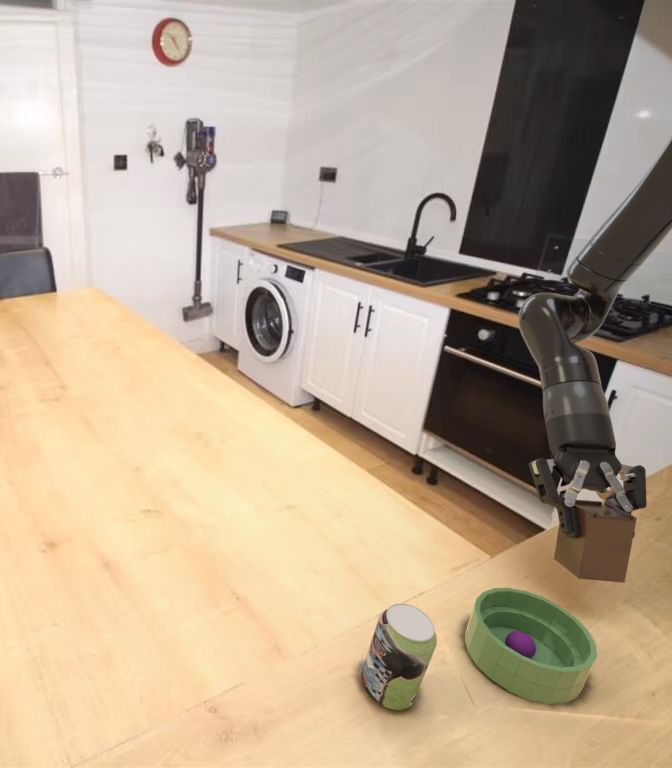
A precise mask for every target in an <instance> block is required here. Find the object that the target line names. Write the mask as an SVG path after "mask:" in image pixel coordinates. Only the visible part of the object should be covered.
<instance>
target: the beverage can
mask: <svg viewBox="0 0 672 768" xmlns="http://www.w3.org/2000/svg"><path fill="white" fill-rule="evenodd" d="M437 643H438V638H437V633H436V628H435V624H434V622H433V620H432V619H431V618H430V616H429V615H428V614H427V613H425V612H424V611H423V610H422V609H420V608H419V607H416V606H414V605H412V604H409V603H401V602H399V603H394V604H392V605H390V606H389V607H388V608H386V609H384V610H383V611H382V612H381V613H380V615H379V616H378V620H377V623H376V625H375V628H374V631H373V635H372V637H371V641H370V644H369V648H368V650H367V654H366V657H365V659H364V663H363V666H362V669H361V673H360V680H361V681H360V682H361V684H362V688H363V689H364V691H365V692H366V693H367V695H368V696H369V697H370V698H371V699H372V700H373V701H374V702H375V703H377V704H378V705H380V706H382V707H384V708H386V709H389V710H393V711H403V710H407V709H408V708H410V707H411V706H412V705H413V704H414V702H415V700H416V698H417V695H418V692H419V689H420V687H421V685H422V682H423V680H424V678H425V675H426V672H427V670H428V668H429V665H430V663H431V660H432V658H433V655H434V652H435V650H436V647H437Z"/></svg>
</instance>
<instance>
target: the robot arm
mask: <svg viewBox="0 0 672 768" xmlns="http://www.w3.org/2000/svg"><path fill="white" fill-rule="evenodd" d="M671 231H672V136H670V138H669V140H668V141H667V143H666V145H665V146H664V148H663V150H662V151H661V153H660V154H659V155H658V157H657V159H656V160H655V161H654V163H653V164H652V166H651V167H650V168H649V169H648V171H647V172H646V174H645V175H644V176H643V178H642V179H641V180H640V181H639V183H637V185H636V186H635V187H634V189H633V190H631V192H630V193H629V194H628V195H627V197H625V199H624V200H623V201H622V202H621V203H620V205H619V206H618V207H617V208H616V209H614V211H613V212H612V214H611V215H609V216H608V217H607V219H606V220H605V221H604V222H603V223H602V224H601V226H600V227H599V228H598V229H597V230H596V232H595V233H594V234H593V235H592V236H591V238H590V239H589V240H588V241H587V243H586V244H584V247H582V249H581V250H580V251H579V252H578V254H577V255H576V256H575V257H574V259H573V260H572V261H571V263H570V264H569V266H568V267H567V270H566V277H567V279H568V280H569V282H570V283H571V284H573V286H575V287H577V288H578V291H577V292H576V294H574V295H573V296H571V295H565V294H561V293H560V294H559V293H555V292H548V291H547V292H544V291H543V292H542V291H541V292H538V293H534V294H531V295H530V296H529V297H527V298H526V299H525V300H524V302H523V303H522V305H521V307H520V309H519V312H518V319H517V321H518V328H519V332H520V334H521V337H522V339H523V341H524V343H525V345H526V347H527V349H528V351H529V353H530V355H531V357H532V359H533V361H534V363H535V364H536V366H537V367H538V368H537V369H538V372H539V373H538V374H539V379H540V380H539V381H540V386H541V391H542V411H543V418H544V424H545V430H546V434H547V436H546V437H547V443H548V448H549V451H550V452H551V455H550V458H549V459H546V458H545V457H539V458H537V459H534V460H532V461H530V462H529V463H528V467H529V471H530V474H531V477H532V480H533V483H534V486H535V489H536V492H537V495H538V498H539V501H540V502H541V503H542V504H544V505H547V504H548V505H549V506H552V507H554V508H555V509H556V512H557V517H558V523H559V524H560V529H561V531H562V533H565V536H566V537H567V538H577V537H580V535H581V533H580V527H579V521H578V516H577V509H576V508H573V506H574V504H575V501H576V500H577V497H578V494H580V493H581V491H582V490H588V491H590V492H595V493H596V495H597V496H598V498H600V499H601V500H603V502H607V503H610V504H612V505H614V506H616V507H617V508H619V509H621V510H623V511H625V512H627V513H629V514H631V515H632V513H633V512H634V511H637V510H642V509H643V510H644V509H645V508H646V507H647V476H646V474H647V472H646V468H645V467H644V466H643V465H641V464H638V465H634V466H633V465H627V464H623V463H621V461H620V460H619V458H618V457H617V455H616V449H617V442H616V437H615V432H614V427H613V422H612V418H611V413H610V408H609V404H608V399H607V397H606V395H605V392H604V389H603V387H602V386H603V385H602V380H601V376H600V372H599V366H598V362H597V359H596V356H595V355H594V353H592V352H591V351H590V350H588V349H587V348H584V347H583V346H580V345H578V344H577V343H580V342H583V341H585V340H587V339H589V338H590V337H592V336H593V335H595V334H596V332H598V331H599V329H600V328H601V327H602V325H603V323H604V322H605V319H606V318H607V316H608V314H609V312H610V310H611V308H612V306H613V304H614V302H615V300H616V298H617V297H618V294H619V292H620V290H621V288H622V286H623V285H624V284H625V283H626V282H627V281H628V280H629V279H630V278H631V277H632V276H633V275H634V274H635V273H636V271H637V270H638V269H639V268H640V267H641V266H642V265H643V264H644V263H645V262H646V261H647V260H648V259H649V257H650V256H651V255H652V254H653V253H654V252H655V250H656V249H657V248H658V247H659V246H660V244H661V243H662V242H663V241H664V240H665V238H666V237H667V236H668V235H669V233H670V232H671ZM553 471H555V473H556V474H557V475H558V476H559V477H560V480H559V482H558V485H557V486H556V483H555V479H554V476H553ZM618 475H619V476H620V477H619V479H618V478H617V476H618ZM620 480H621V481H623V482H622V483H623V484H622V483H621V482H620ZM608 488H609V489H610V490H609V489H608ZM559 524H558V525H559ZM635 536H636V531H635V530H634V535H633V539H634V538H635Z"/></svg>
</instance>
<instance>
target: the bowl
mask: <svg viewBox="0 0 672 768" xmlns="http://www.w3.org/2000/svg"><path fill="white" fill-rule="evenodd" d="M513 631H520V632H524V633H526V634H527V635H529V636H530V637H531V638H532V639H533V641H534V642H535V645H536V652H535V655H534V656H533V657H532V658H530V659H529V658H527V657H525V656H522V655H521V654H519V653H517V652H516V651H514V650H512V649H511V648H509V647H508V646H506V645H505V639H506V637H507V635H508V634H509V633H511V632H513ZM464 643H465V647H466V651H467V653H468V654H469V656H470V658H471V659H472V661H473V663H474V665H476V666H477V668H478V669H479V670H480V671H481V672H483V674H484V675H486V676H487V677H488V679H490V680H491V681H492V682H494V683H495V684H497V685H499V686H500V687H501V688H503V689H504V690H506V691H507V692H509V693H510V694H514V695H516V696H518V697H520V698H522V699H525V700H527V701H530V702H535V703H540V704H545V705H555V704H567V703H568V702H570V701H573V700H575V699H577V698H578V697H579V695H580V693H581V692H582V690H583V688H584V687H585V684H586V682H587V679H588V678H589V676H590V673H591V671H592V669H593V666H594V665H595V662H596V660H597V658H598V651H597V644H596V642H595V640H594V638H593V636H592V635H591V632H590V631H589V630H588V629H587V627H586V626H584V624H583V623H581V621H580V619H578V618H577V617H575V615H573V614H572V613H570V611H567V609H565V608H564V607H562V606H561V605H559V604H557V603H555V602H553V601H551V600H549V599H547V598H546V597H543V596H541V595H538V594H536V593H533V592H530V591H527V590H523V589H517V588H512V587H493V588H490V589H487V590H484V591H482V592H481V593H480V594H479V595H478V596H477V597H476V598H475V601H474V604H473V606H472V610H471V613H470V617H469V619H468V622H467V626H466V629H465V635H464Z"/></svg>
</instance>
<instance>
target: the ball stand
mask: <svg viewBox="0 0 672 768" xmlns="http://www.w3.org/2000/svg"><path fill="white" fill-rule="evenodd" d="M573 508H576V509H577V516H578V521H579V527H580V533H581V535H580V537H577V538H567V537H566V536H565V533H562V531H561V529H560V524H558V530H557V531H558V532H557V537H556V543H555V549H554V556H553V560H554V561H556V562H557V563H558V564H560V565H561V566H562V567H563V568H564V569H566V571H569V572H570V573H571V574H572V575H574V576H575V577H576V578H577V579H578V580H590V581H599V582H600V581H601V582H610V583H612V582H613V583H622V584H623V583H624V584H625V583H626V577H627V573H628V567H629V561H630V556H631V551H632V546H633V540H634V538H633V535H634V531H635V530H636V523H637V520H638V518H637V517H636V516H634V515H632V513H631V514H629V513H627V512H625V511H623V510H621V509H619V508H617V507H616V506H614V505H612V504H610V503H607V502H605V501H603V502H602V501H601V500H588V499H587V500H585V499H576V501H575V504H574V506H573Z"/></svg>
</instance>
